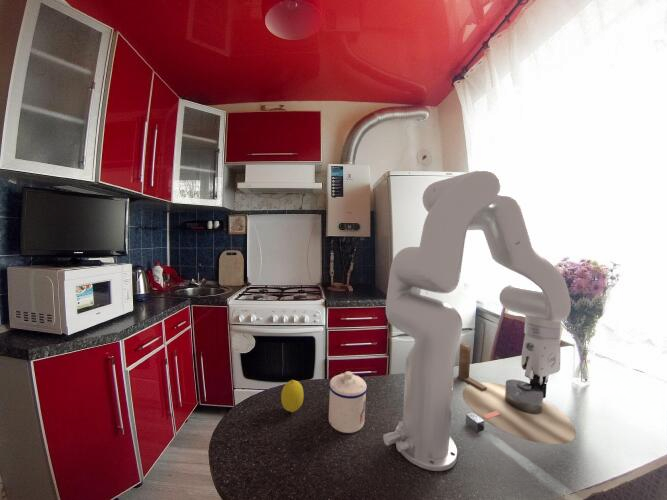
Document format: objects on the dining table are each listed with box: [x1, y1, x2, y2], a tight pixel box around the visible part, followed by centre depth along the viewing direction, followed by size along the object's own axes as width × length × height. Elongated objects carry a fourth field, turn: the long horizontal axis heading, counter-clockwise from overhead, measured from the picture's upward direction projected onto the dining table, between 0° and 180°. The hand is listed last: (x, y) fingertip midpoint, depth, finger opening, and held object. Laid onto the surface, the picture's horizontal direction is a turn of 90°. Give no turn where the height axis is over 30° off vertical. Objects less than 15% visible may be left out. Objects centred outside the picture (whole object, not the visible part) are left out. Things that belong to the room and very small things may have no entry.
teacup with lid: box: [328, 370, 368, 434], centre depth 62 cm, size 12×9×12 cm
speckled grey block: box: [465, 411, 485, 434], centre depth 60 cm, size 2×3×2 cm
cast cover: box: [505, 379, 544, 414], centre depth 67 cm, size 8×8×6 cm
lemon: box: [280, 379, 305, 413], centre depth 62 cm, size 6×6×8 cm
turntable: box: [457, 342, 577, 445], centre depth 67 cm, size 25×29×12 cm
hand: (537, 395), depth 70 cm, fingers closed
